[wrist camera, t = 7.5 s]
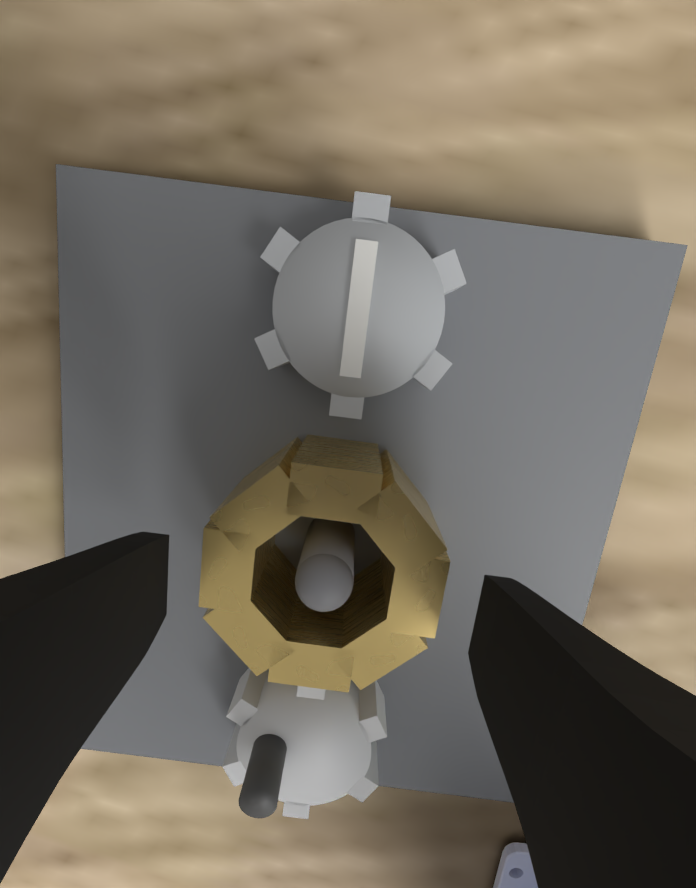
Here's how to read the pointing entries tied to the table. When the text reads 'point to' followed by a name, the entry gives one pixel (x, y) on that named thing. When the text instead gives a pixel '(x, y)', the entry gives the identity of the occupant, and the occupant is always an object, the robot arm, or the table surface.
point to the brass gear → (273, 576)
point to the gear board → (344, 417)
